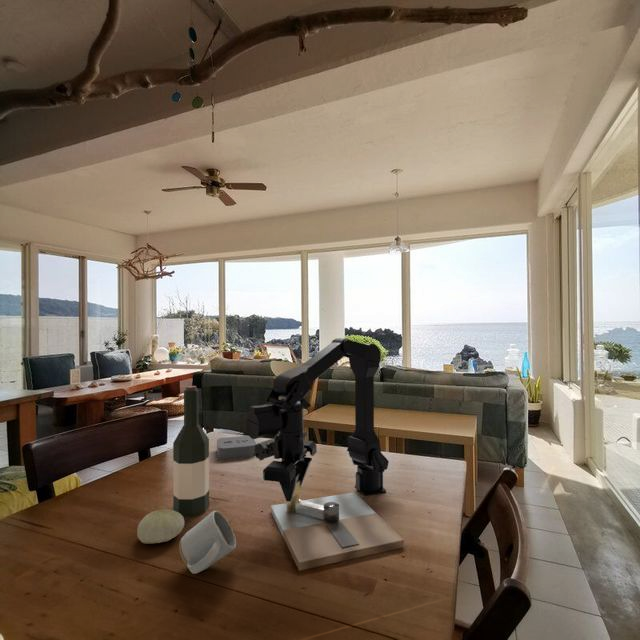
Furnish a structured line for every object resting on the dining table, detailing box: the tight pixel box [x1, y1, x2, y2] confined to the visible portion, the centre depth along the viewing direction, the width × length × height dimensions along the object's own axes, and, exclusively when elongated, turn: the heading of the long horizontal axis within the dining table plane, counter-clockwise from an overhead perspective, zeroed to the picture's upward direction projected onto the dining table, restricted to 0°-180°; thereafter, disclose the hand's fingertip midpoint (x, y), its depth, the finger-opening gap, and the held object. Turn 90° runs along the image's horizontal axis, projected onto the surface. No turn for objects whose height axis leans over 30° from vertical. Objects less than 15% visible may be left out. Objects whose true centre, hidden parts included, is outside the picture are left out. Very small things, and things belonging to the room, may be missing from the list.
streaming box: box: [216, 435, 257, 461], centre depth 137 cm, size 13×13×5 cm
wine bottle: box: [172, 385, 210, 518], centre depth 97 cm, size 8×8×30 cm
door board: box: [270, 491, 405, 571], centre depth 87 cm, size 22×24×2 cm
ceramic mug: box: [178, 510, 237, 575], centre depth 72 cm, size 11×8×8 cm
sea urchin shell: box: [136, 508, 186, 545], centre depth 84 cm, size 9×8×8 cm
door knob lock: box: [285, 479, 339, 523], centre depth 90 cm, size 13×3×6 cm, turn 61°
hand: (292, 495), depth 91 cm, fingers open, 5 cm apart
